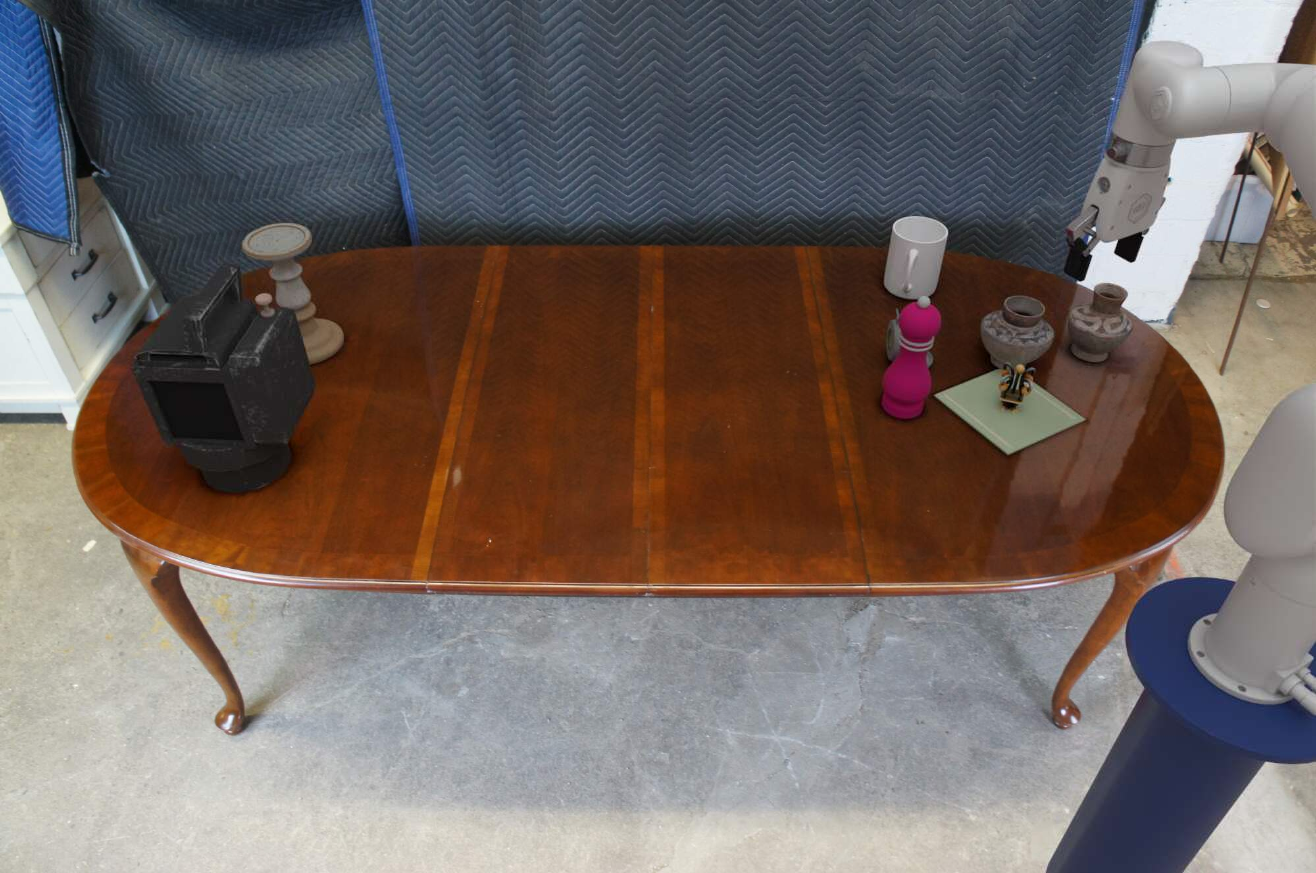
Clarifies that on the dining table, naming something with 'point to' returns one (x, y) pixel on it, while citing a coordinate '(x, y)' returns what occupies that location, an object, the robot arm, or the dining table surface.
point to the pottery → (1028, 336)
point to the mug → (915, 257)
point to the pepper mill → (911, 361)
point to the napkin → (1008, 412)
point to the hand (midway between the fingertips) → (1099, 267)
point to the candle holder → (294, 284)
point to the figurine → (1014, 386)
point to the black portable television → (227, 382)
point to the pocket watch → (894, 344)
